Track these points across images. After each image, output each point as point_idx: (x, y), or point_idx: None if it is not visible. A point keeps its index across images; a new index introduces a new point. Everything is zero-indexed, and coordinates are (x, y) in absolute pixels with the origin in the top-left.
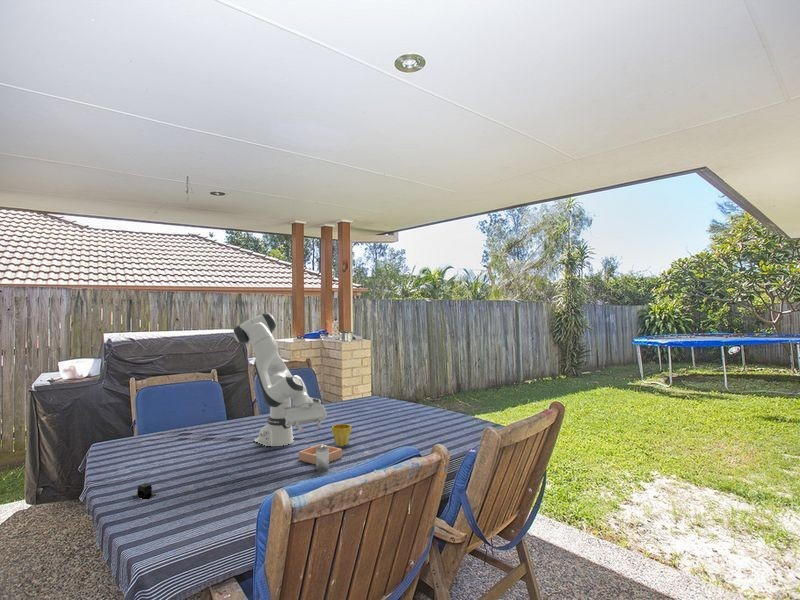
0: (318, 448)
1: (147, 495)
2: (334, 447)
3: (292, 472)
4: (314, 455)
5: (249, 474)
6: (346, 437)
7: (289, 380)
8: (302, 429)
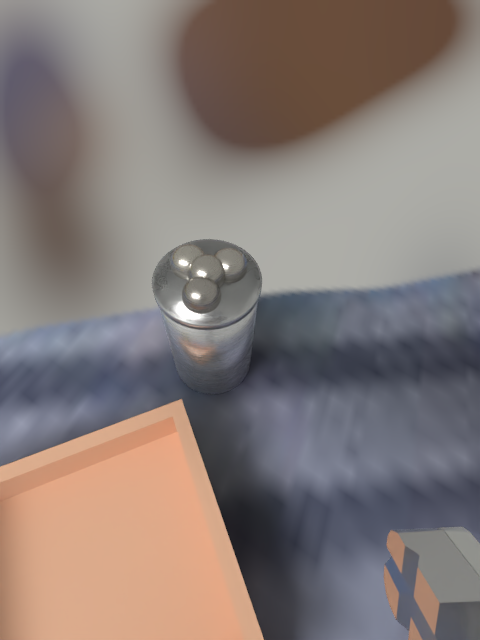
0: (240, 286)
1: None
2: None
3: (390, 409)
4: (206, 473)
5: None
6: None
7: None
8: (409, 531)
